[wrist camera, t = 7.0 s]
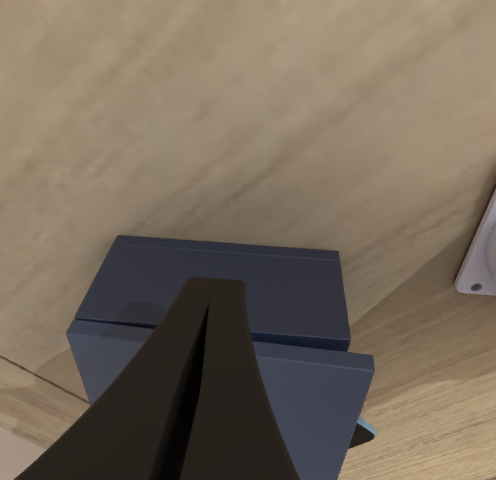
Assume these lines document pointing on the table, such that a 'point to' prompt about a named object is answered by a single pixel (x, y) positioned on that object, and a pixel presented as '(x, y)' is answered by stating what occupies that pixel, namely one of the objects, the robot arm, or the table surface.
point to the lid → (275, 382)
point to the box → (225, 267)
